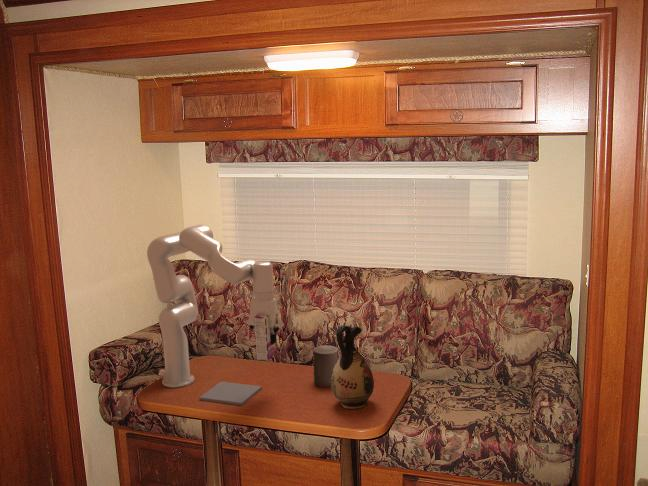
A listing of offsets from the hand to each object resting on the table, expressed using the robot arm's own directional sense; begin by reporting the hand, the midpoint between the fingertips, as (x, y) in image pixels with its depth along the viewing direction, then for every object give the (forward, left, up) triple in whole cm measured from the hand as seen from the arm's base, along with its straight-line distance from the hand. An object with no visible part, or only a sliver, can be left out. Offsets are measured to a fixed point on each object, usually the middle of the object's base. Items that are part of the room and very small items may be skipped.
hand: (265, 342), depth 226 cm
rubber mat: (-15, -2, -21) cm, 26 cm away
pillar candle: (+16, +19, -21) cm, 33 cm away
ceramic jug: (+32, +2, -21) cm, 39 cm away
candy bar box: (0, 0, -5) cm, 5 cm away
